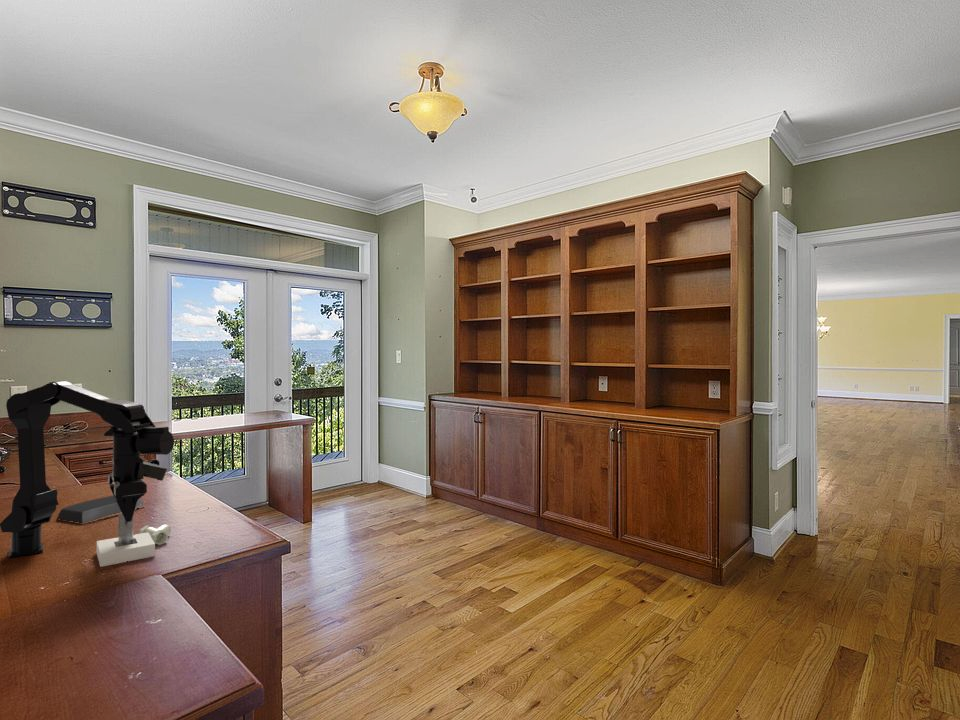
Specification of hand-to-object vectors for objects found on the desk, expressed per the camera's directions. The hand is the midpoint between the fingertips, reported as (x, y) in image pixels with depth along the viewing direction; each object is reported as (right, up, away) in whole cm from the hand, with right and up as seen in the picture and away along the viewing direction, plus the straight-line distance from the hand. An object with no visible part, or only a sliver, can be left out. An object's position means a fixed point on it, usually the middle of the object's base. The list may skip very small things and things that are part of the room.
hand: (126, 517), depth 131 cm
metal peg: (0, -9, 0) cm, 9 cm away
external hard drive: (-30, -10, +34) cm, 46 cm away
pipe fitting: (+2, -10, +11) cm, 15 cm away
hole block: (0, -9, 0) cm, 9 cm away
